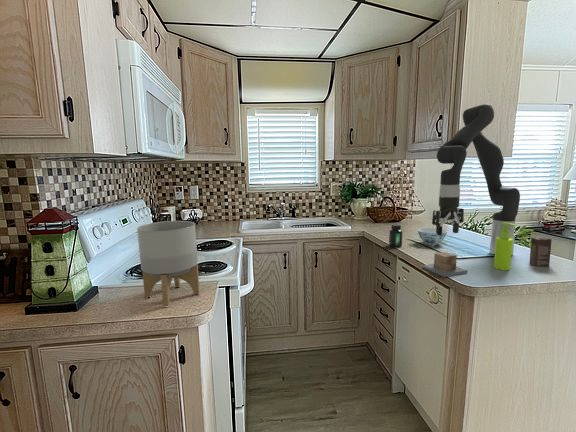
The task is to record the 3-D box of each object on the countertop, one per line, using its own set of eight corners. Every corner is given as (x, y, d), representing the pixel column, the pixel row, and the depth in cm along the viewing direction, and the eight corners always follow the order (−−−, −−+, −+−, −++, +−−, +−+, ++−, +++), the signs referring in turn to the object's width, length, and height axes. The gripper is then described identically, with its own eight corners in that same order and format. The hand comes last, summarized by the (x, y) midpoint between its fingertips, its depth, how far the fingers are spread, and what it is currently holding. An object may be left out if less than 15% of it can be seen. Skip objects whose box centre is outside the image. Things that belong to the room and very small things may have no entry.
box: (541, 262, 143) (544, 236, 141) (549, 266, 138) (552, 239, 136) (528, 263, 143) (530, 237, 141) (535, 266, 138) (538, 239, 136)
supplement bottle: (400, 248, 171) (401, 226, 169) (387, 247, 174) (388, 225, 172) (403, 245, 177) (403, 224, 175) (390, 244, 180) (391, 223, 178)
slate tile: (444, 264, 143) (444, 262, 142) (467, 273, 131) (467, 270, 131) (422, 267, 139) (423, 265, 139) (444, 276, 128) (444, 274, 127)
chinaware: (451, 244, 177) (452, 230, 176) (436, 248, 169) (437, 234, 168) (426, 239, 190) (427, 226, 188) (411, 243, 181) (412, 230, 180)
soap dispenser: (507, 271, 132) (512, 224, 129) (490, 267, 138) (494, 222, 135) (515, 269, 135) (520, 223, 131) (498, 265, 141) (502, 221, 137)
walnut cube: (444, 264, 139) (445, 251, 138) (455, 269, 133) (456, 255, 132) (433, 266, 137) (434, 253, 136) (444, 270, 131) (445, 256, 130)
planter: (203, 284, 125) (198, 219, 120) (195, 305, 106) (189, 229, 102) (153, 287, 122) (147, 221, 118) (136, 309, 104) (128, 232, 100)
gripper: (455, 193, 135) (453, 230, 138) (428, 195, 131) (427, 233, 134) (470, 195, 128) (468, 234, 131) (442, 197, 124) (440, 237, 127)
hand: (447, 233), depth 132 cm, fingers open, 8 cm apart
